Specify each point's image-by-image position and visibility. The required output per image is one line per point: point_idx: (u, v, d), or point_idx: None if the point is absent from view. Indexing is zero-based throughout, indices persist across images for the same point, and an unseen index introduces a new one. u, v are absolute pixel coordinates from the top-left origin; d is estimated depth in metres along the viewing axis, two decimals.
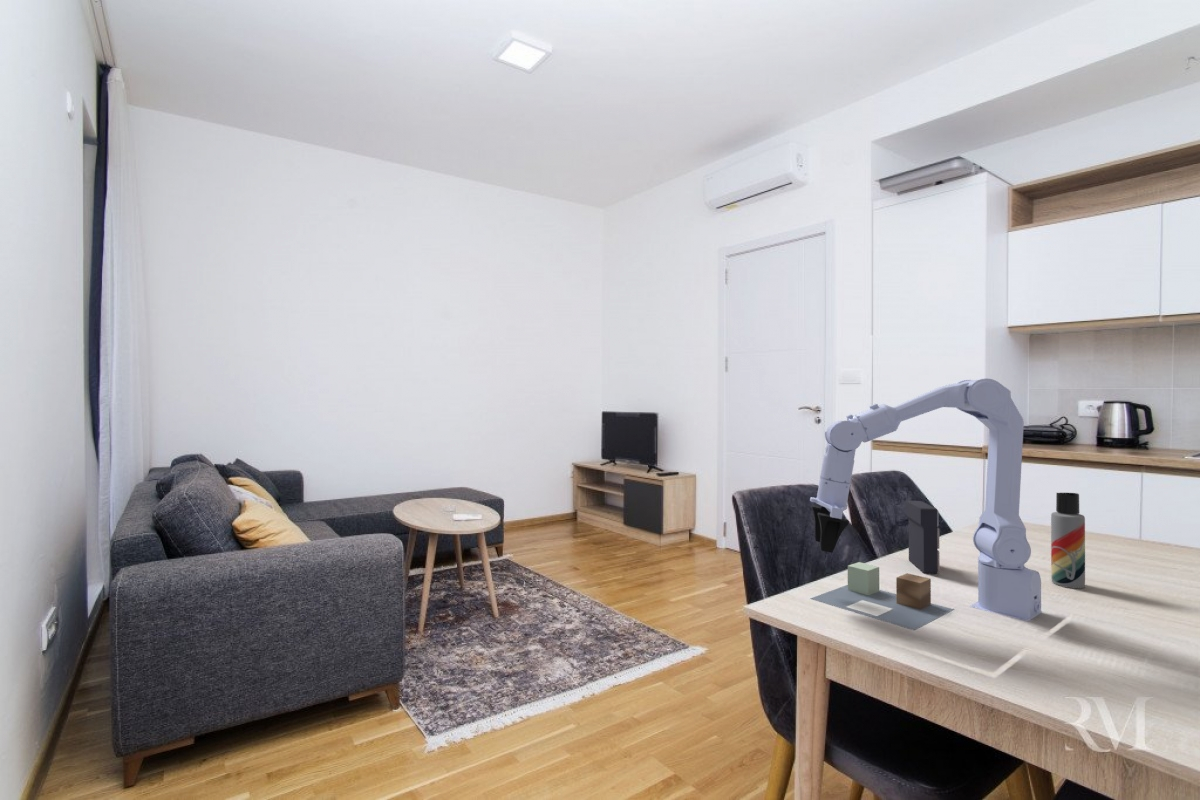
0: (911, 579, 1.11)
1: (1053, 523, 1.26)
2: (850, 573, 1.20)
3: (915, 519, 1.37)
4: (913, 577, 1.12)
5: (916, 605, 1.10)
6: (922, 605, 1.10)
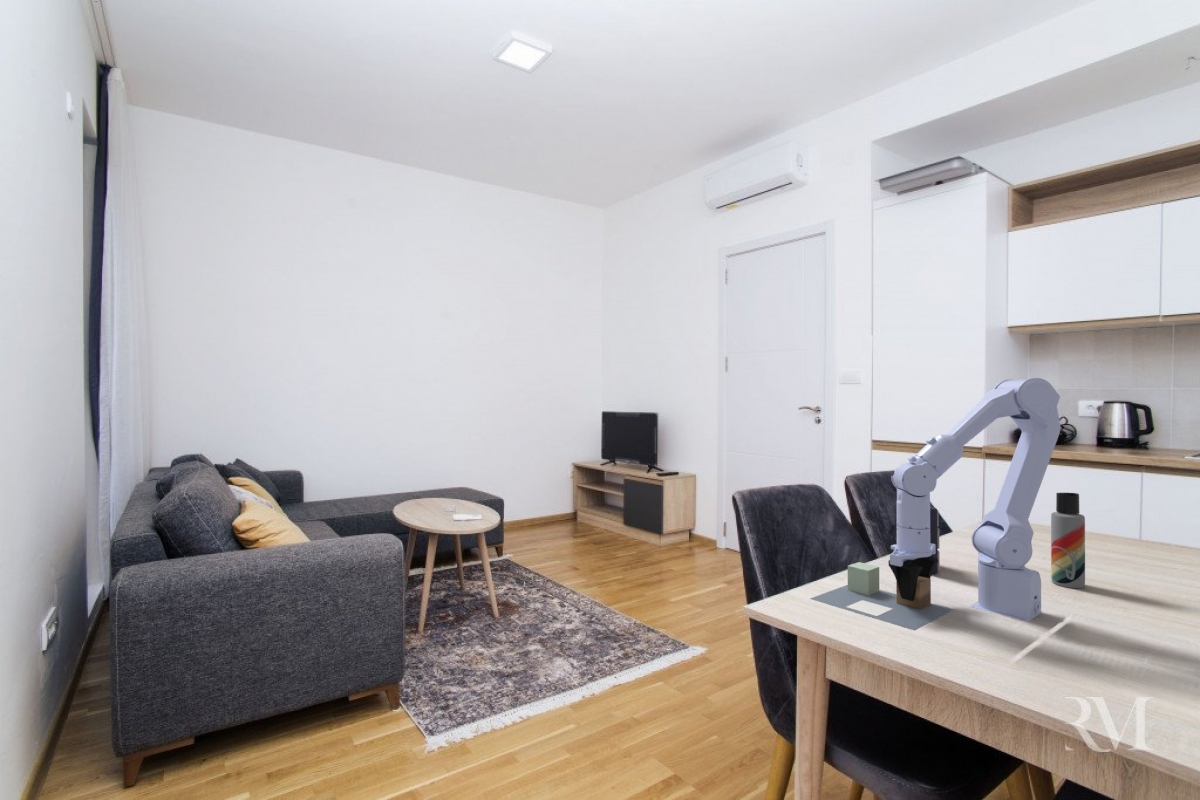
0: None
1: (1053, 523, 1.26)
2: (850, 573, 1.20)
3: None
4: None
5: (916, 605, 1.10)
6: (922, 605, 1.10)
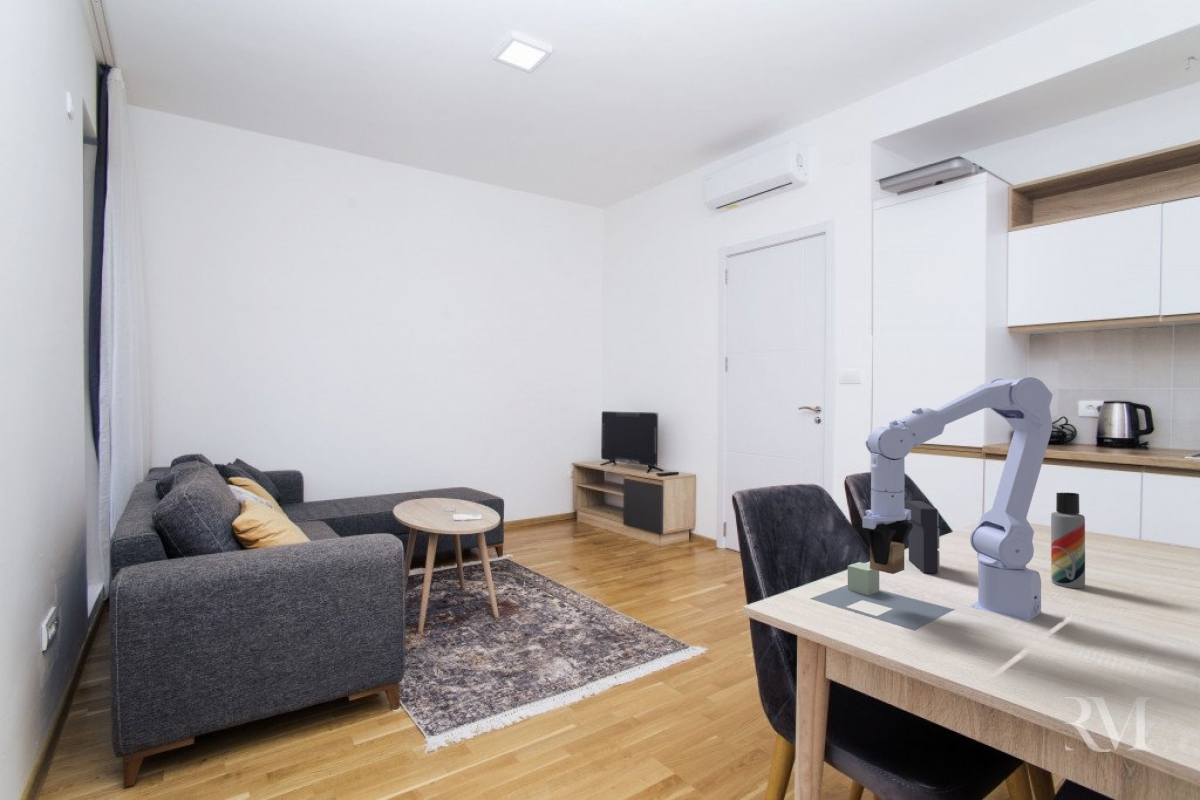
0: None
1: (1053, 523, 1.26)
2: (850, 573, 1.20)
3: (915, 519, 1.37)
4: None
5: (889, 570, 1.08)
6: (895, 570, 1.08)
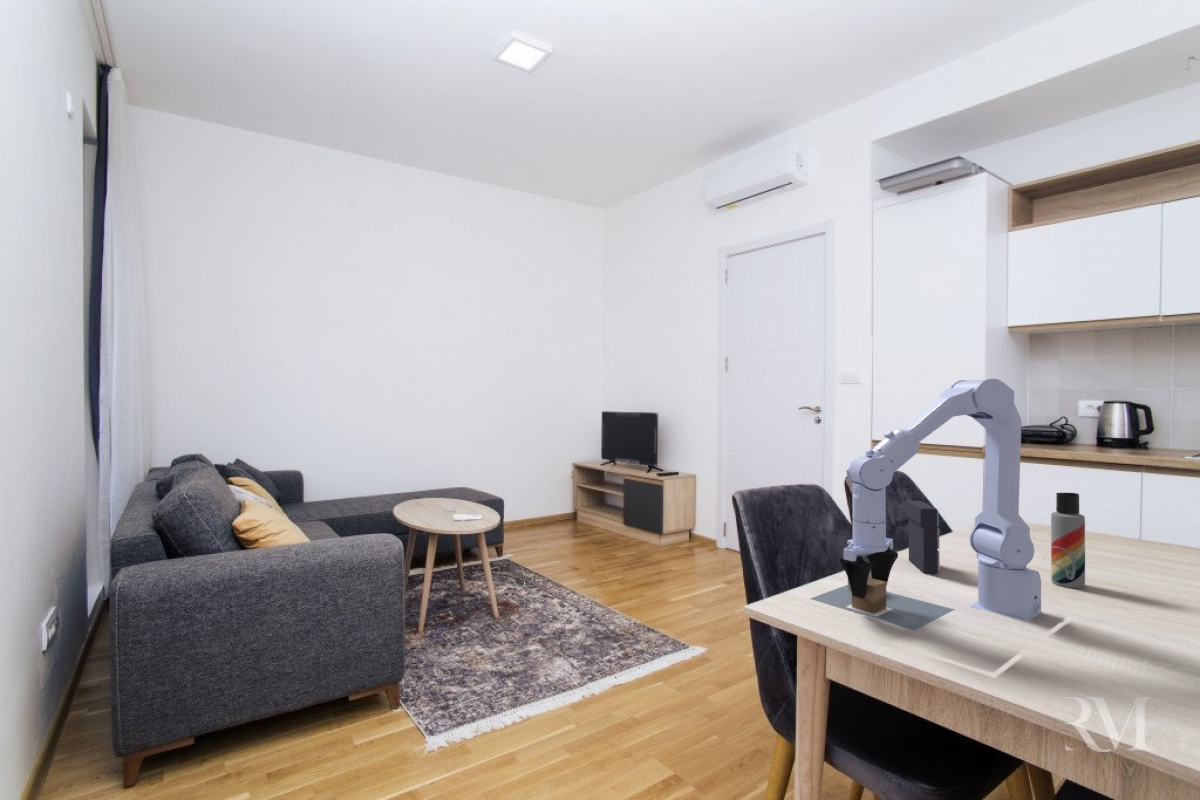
0: None
1: (1053, 523, 1.26)
2: None
3: (915, 519, 1.37)
4: (868, 580, 1.10)
5: (870, 609, 1.07)
6: (876, 609, 1.07)
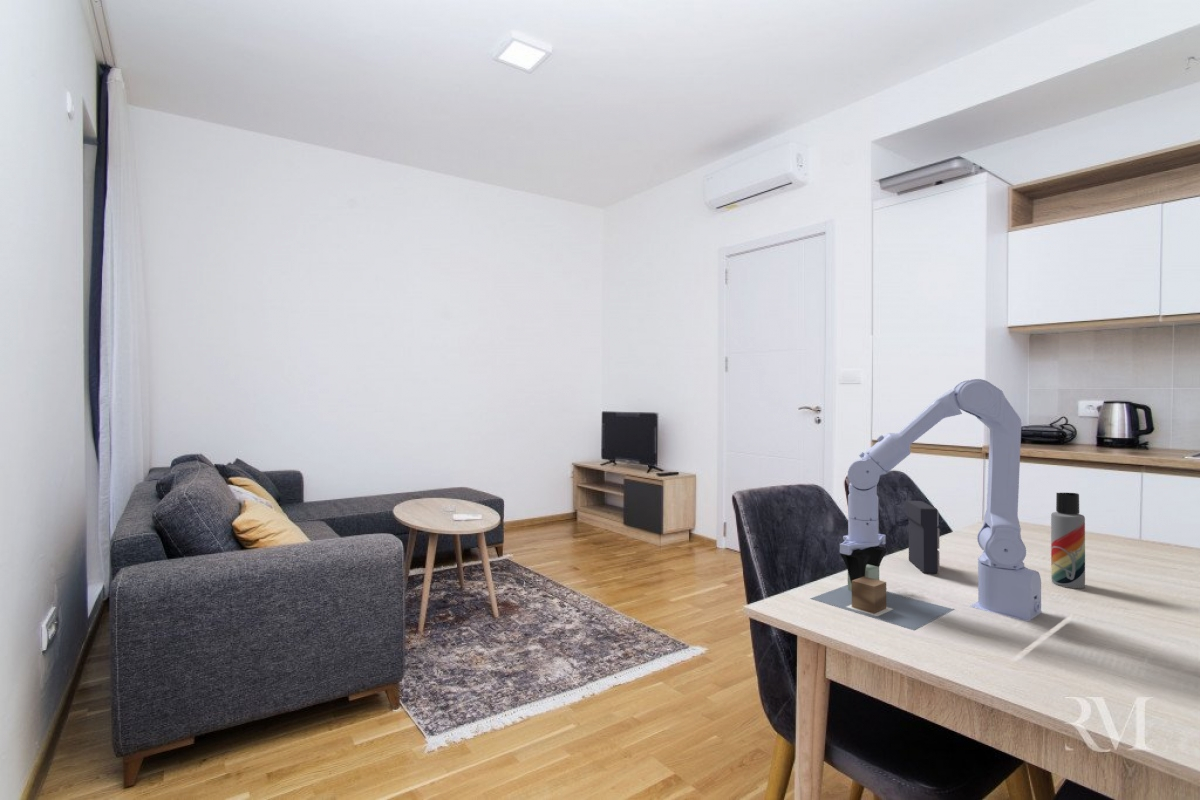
0: (866, 582, 1.09)
1: (1053, 523, 1.26)
2: None
3: (915, 519, 1.37)
4: (868, 580, 1.10)
5: (870, 609, 1.07)
6: (876, 609, 1.07)
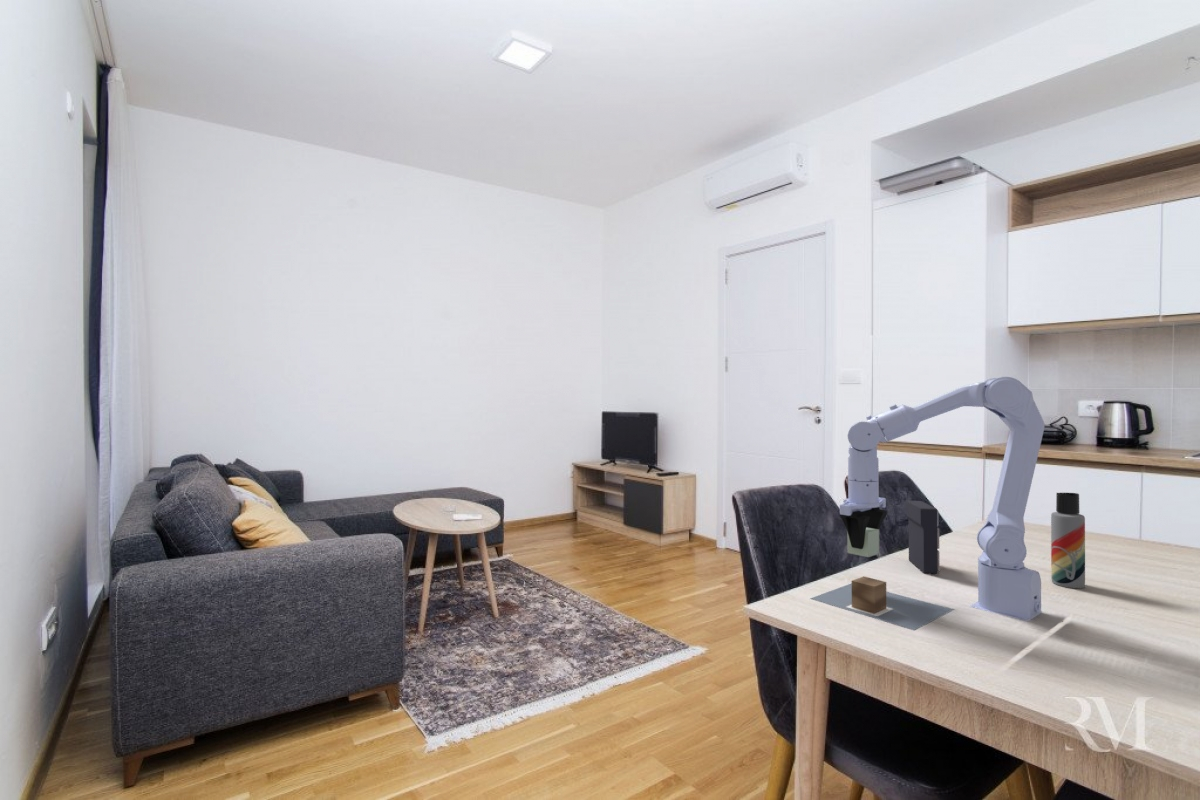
0: (866, 582, 1.09)
1: (1053, 523, 1.26)
2: None
3: (915, 519, 1.37)
4: (868, 580, 1.10)
5: (870, 609, 1.07)
6: (876, 609, 1.07)
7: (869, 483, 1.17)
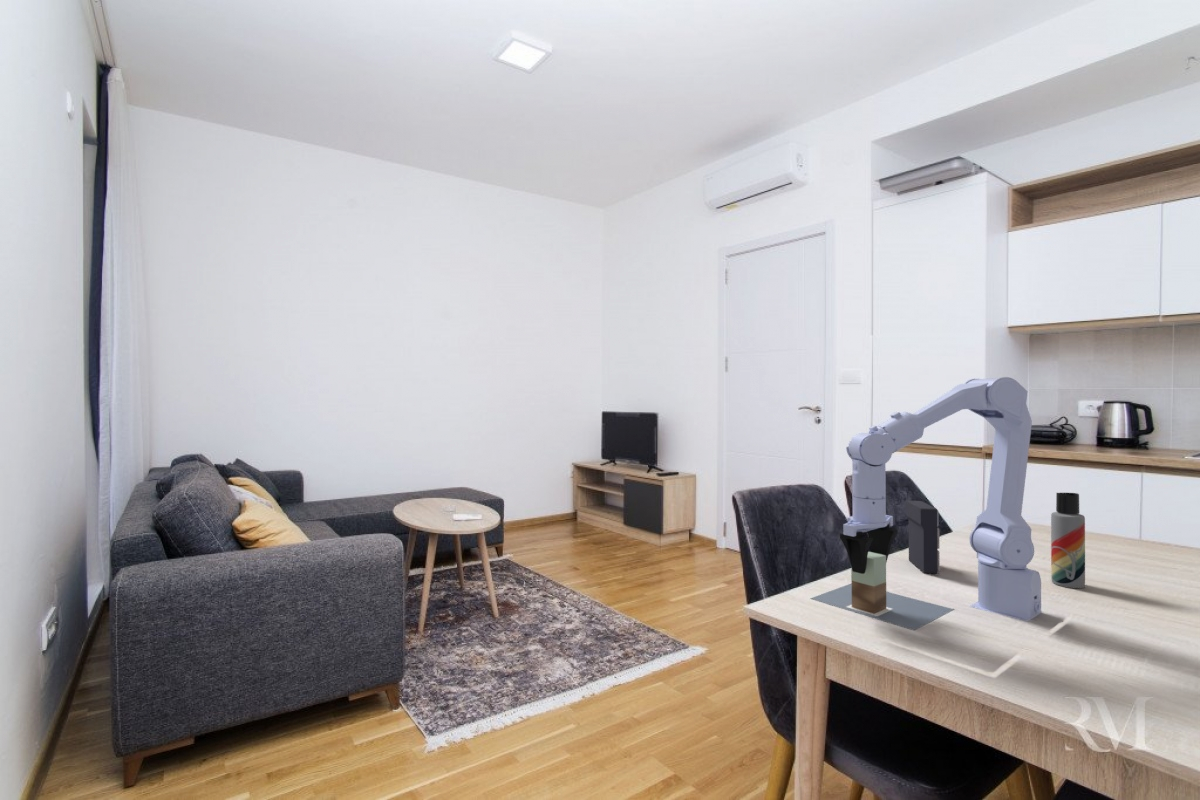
0: None
1: (1053, 523, 1.26)
2: None
3: (915, 519, 1.37)
4: None
5: (870, 609, 1.07)
6: (876, 609, 1.07)
7: (875, 501, 1.07)
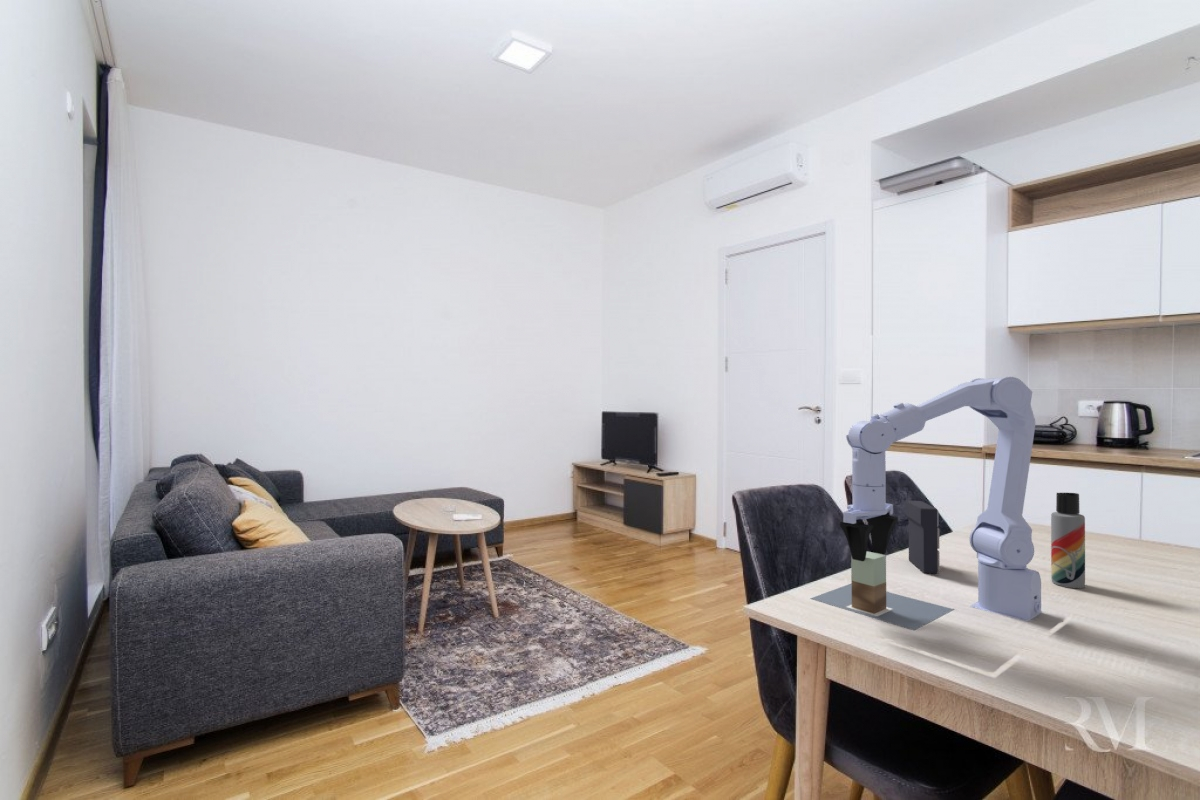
0: None
1: (1053, 523, 1.26)
2: (854, 562, 1.10)
3: (915, 519, 1.37)
4: None
5: (870, 609, 1.07)
6: (876, 609, 1.07)
7: (875, 488, 1.07)
